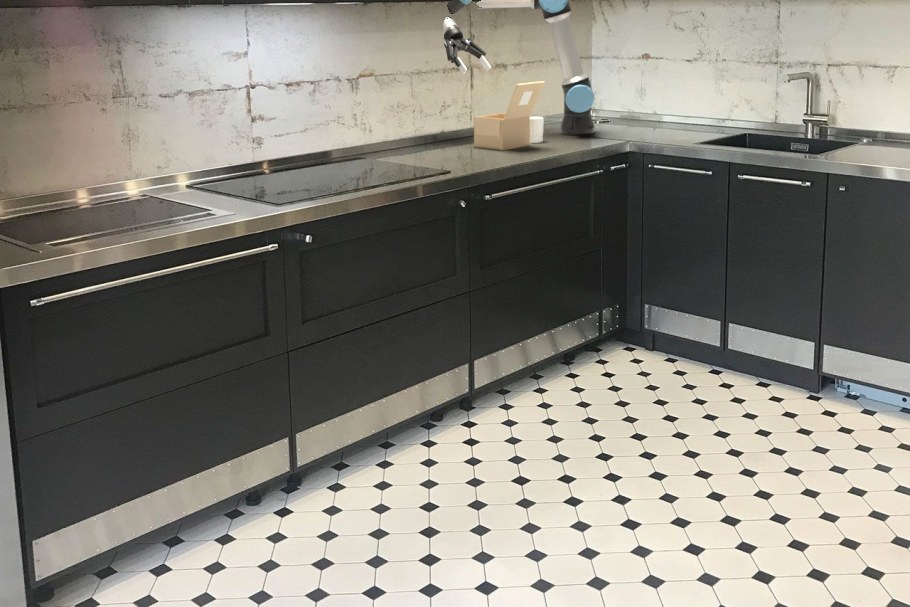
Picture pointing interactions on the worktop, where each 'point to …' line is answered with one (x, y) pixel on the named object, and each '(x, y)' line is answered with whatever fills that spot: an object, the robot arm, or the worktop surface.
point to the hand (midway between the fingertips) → (477, 70)
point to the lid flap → (523, 100)
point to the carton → (501, 132)
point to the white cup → (536, 129)
